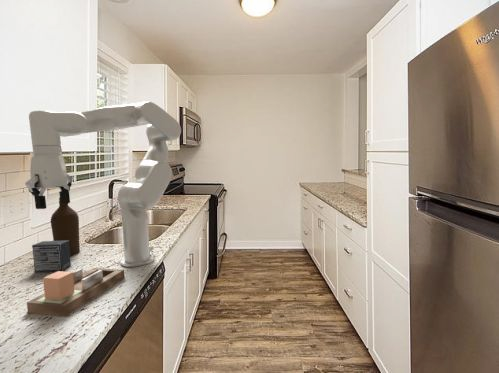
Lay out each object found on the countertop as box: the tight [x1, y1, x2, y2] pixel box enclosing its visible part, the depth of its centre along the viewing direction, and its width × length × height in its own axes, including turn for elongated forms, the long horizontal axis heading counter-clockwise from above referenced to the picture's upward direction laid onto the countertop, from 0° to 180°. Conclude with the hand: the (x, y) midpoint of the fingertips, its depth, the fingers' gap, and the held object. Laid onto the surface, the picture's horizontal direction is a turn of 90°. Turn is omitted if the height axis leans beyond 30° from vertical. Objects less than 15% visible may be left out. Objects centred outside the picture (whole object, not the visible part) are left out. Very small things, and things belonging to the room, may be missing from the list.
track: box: [26, 267, 125, 317], centre depth 95 cm, size 26×12×6 cm, turn 168°
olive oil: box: [50, 197, 81, 256], centre depth 136 cm, size 11×11×25 cm
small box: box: [31, 240, 72, 273], centre depth 117 cm, size 11×6×10 cm, turn 92°
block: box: [42, 271, 74, 300], centre depth 87 cm, size 5×5×6 cm
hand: (53, 205), depth 98 cm, fingers open, 9 cm apart
